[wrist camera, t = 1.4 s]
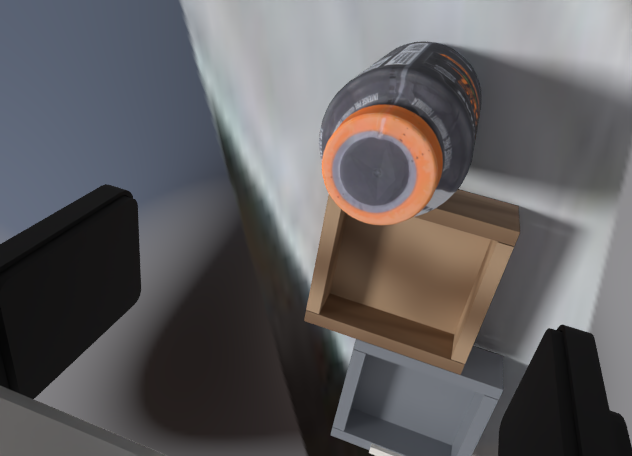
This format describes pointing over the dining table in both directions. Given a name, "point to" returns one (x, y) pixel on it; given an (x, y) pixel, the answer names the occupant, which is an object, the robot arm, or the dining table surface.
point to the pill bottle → (401, 134)
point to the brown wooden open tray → (414, 277)
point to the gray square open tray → (416, 403)
